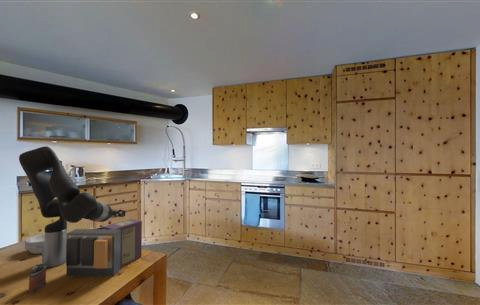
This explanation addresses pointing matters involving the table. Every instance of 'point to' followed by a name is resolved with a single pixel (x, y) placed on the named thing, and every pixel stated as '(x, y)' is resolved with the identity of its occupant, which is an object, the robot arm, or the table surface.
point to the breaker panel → (91, 252)
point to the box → (129, 239)
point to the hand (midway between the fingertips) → (112, 215)
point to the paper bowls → (35, 244)
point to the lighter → (37, 278)
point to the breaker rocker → (100, 253)
